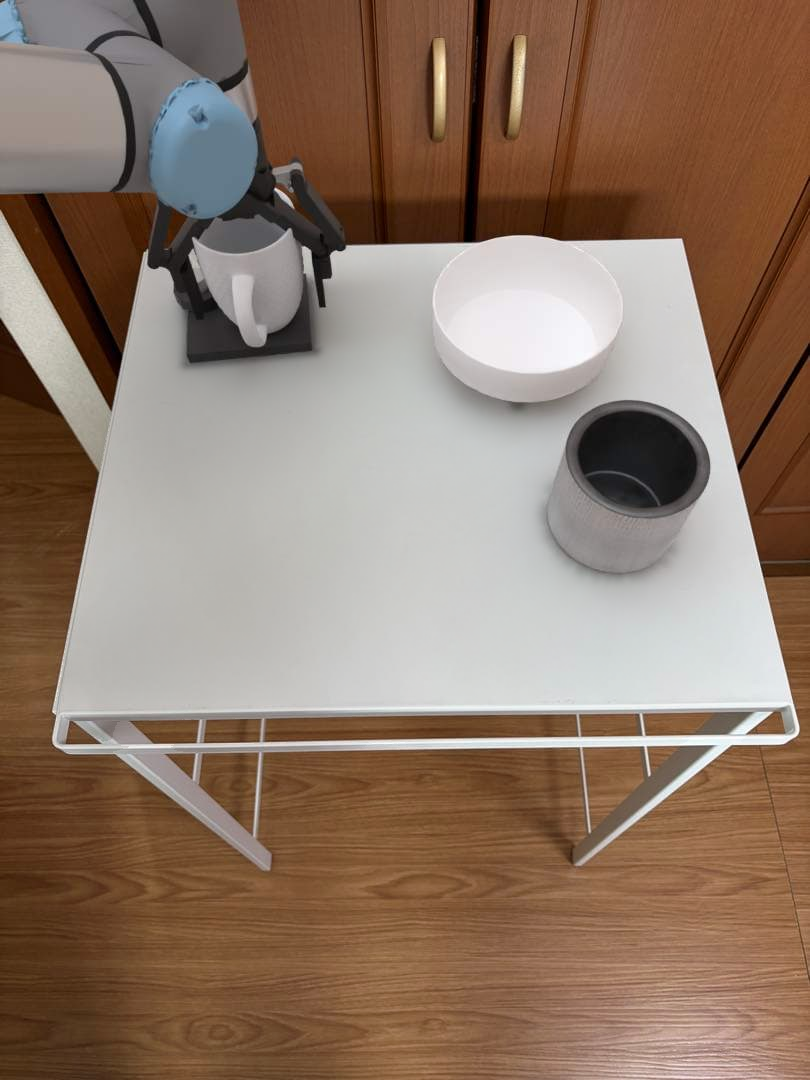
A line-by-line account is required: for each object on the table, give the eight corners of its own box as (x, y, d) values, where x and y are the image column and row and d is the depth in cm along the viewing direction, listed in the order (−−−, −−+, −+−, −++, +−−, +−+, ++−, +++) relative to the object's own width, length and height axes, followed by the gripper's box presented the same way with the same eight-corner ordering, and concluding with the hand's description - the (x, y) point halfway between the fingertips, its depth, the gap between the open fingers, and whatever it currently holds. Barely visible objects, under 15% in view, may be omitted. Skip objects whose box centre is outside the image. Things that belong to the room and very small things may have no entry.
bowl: (606, 434, 79) (625, 382, 71) (421, 418, 80) (421, 365, 73) (605, 300, 88) (622, 241, 80) (439, 287, 89) (441, 228, 82)
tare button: (186, 296, 86) (182, 284, 84) (186, 280, 87) (182, 268, 85) (209, 294, 86) (205, 282, 84) (209, 278, 87) (205, 266, 86)
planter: (533, 558, 72) (551, 498, 62) (558, 455, 78) (579, 384, 68) (664, 591, 70) (704, 534, 60) (680, 483, 76) (719, 415, 66)
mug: (311, 374, 82) (293, 281, 70) (210, 378, 82) (176, 286, 70) (313, 277, 89) (297, 178, 77) (220, 281, 89) (191, 183, 77)
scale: (178, 364, 84) (170, 345, 82) (181, 289, 90) (173, 270, 87) (312, 350, 85) (309, 331, 82) (307, 277, 91) (303, 257, 88)
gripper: (355, 83, 67) (368, 270, 86) (74, 107, 66) (150, 291, 85) (362, 135, 63) (375, 318, 82) (66, 161, 62) (147, 340, 81)
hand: (261, 305), depth 83 cm, fingers open, 13 cm apart
